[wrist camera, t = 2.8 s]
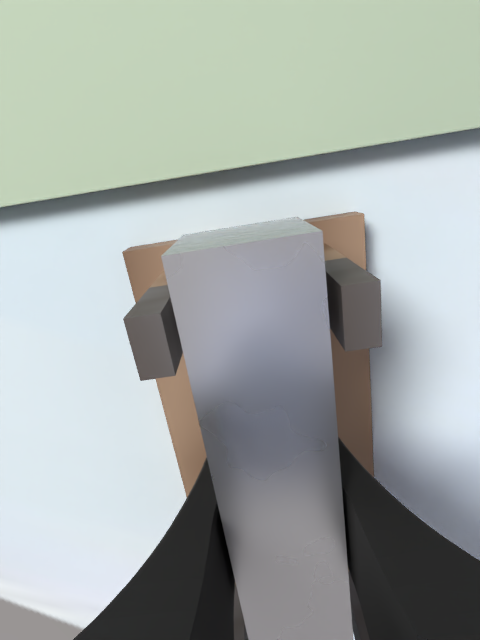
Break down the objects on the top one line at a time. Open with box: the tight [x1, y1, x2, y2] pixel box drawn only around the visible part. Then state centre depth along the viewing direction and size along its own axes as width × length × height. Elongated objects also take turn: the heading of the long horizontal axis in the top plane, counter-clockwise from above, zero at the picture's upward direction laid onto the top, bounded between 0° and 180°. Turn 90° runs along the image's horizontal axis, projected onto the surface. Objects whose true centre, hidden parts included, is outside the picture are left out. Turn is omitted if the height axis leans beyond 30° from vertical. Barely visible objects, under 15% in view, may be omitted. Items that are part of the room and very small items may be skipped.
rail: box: [161, 217, 353, 640], centre depth 11 cm, size 16×3×3 cm, turn 9°
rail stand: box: [122, 212, 382, 640], centre depth 13 cm, size 8×15×6 cm, turn 9°
